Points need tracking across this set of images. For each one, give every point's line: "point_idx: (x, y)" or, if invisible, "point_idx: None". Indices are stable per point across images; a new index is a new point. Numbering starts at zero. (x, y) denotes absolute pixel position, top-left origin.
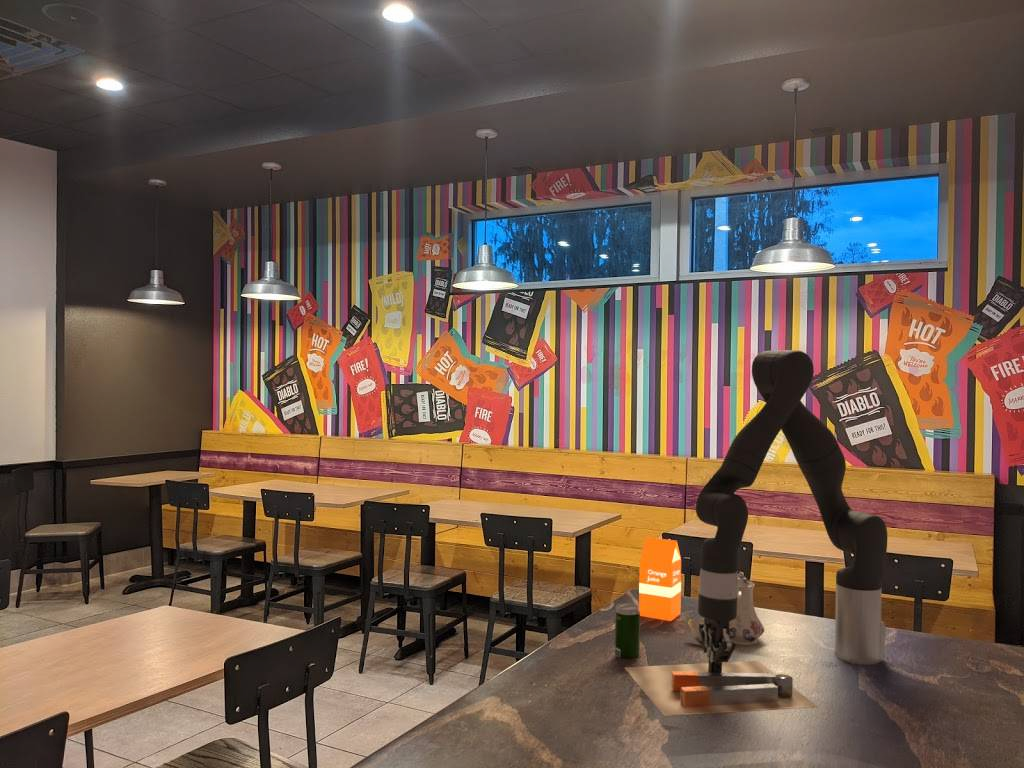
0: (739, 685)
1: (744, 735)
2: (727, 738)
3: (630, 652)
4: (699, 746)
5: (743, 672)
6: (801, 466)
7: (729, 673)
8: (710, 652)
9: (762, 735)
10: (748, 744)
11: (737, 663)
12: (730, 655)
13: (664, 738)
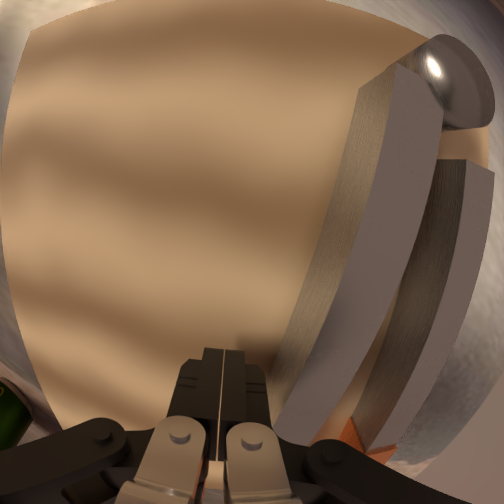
0: (423, 350)
1: (475, 351)
2: (462, 385)
3: (19, 427)
4: (446, 426)
5: (91, 120)
6: None
7: (317, 368)
8: (200, 498)
9: (493, 313)
10: (492, 354)
11: (16, 114)
12: (411, 481)
13: (397, 463)
